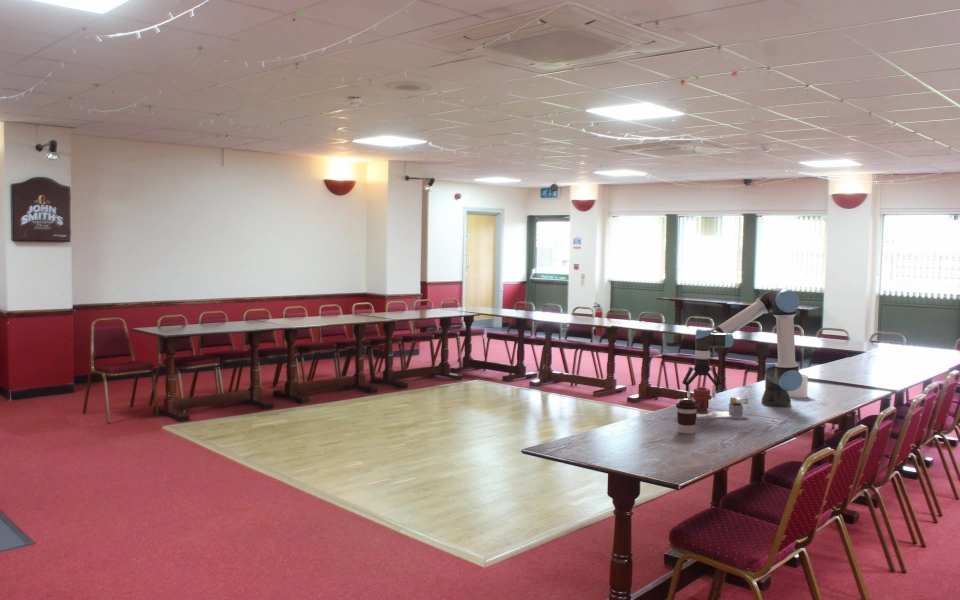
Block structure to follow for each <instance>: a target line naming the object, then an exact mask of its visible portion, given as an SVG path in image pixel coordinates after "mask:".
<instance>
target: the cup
mask: <svg viewBox="0 0 960 600" xmlns="http://www.w3.org/2000/svg"><path fill="white" fill-rule="evenodd" d="M800 374H801V375H802V378H803V382H802V385H801V386H800V387H799V388H798V389H797V390H795V391H788V394H789V397H790V398H797V399H798V398H799V399H800V398H801V399H804V398H807V397H808V384H809V383H808V378H809V377H808V375H806V374H802V373H800Z"/></svg>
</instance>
